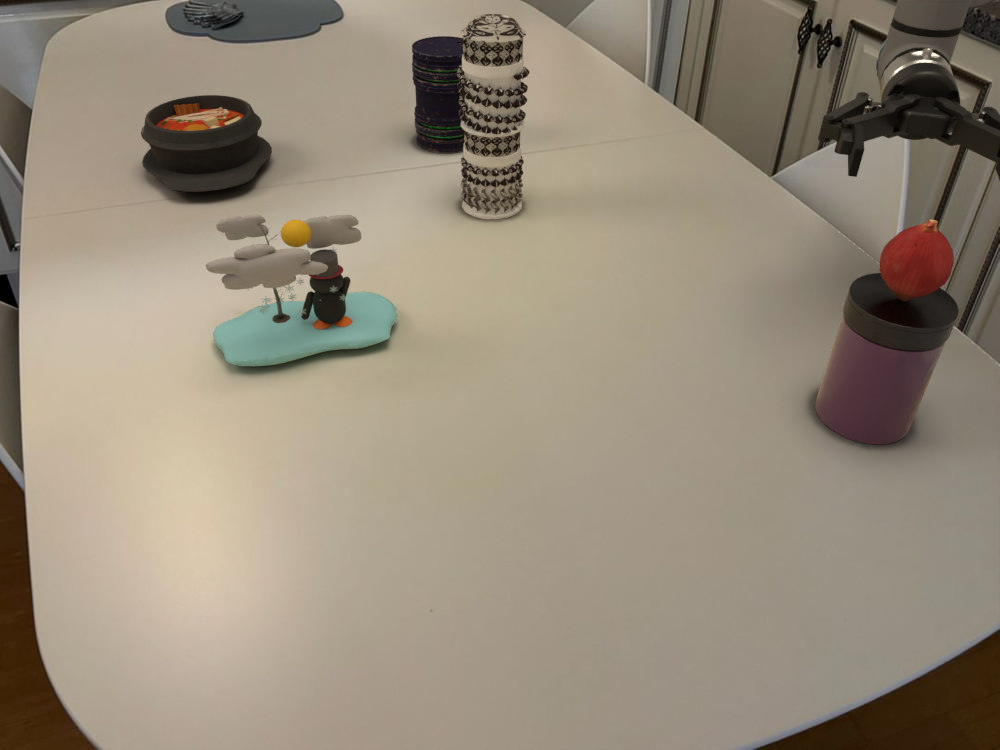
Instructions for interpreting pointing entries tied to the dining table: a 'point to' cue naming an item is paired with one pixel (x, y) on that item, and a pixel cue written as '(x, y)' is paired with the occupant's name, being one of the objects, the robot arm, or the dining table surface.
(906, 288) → the red pomegranate
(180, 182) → the casserole
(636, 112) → the dining table surface
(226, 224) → the penguin figurine
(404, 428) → the dining table surface
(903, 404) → the jar
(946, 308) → the jar lid
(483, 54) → the decorative candle
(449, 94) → the storage jar
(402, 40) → the dining table surface
